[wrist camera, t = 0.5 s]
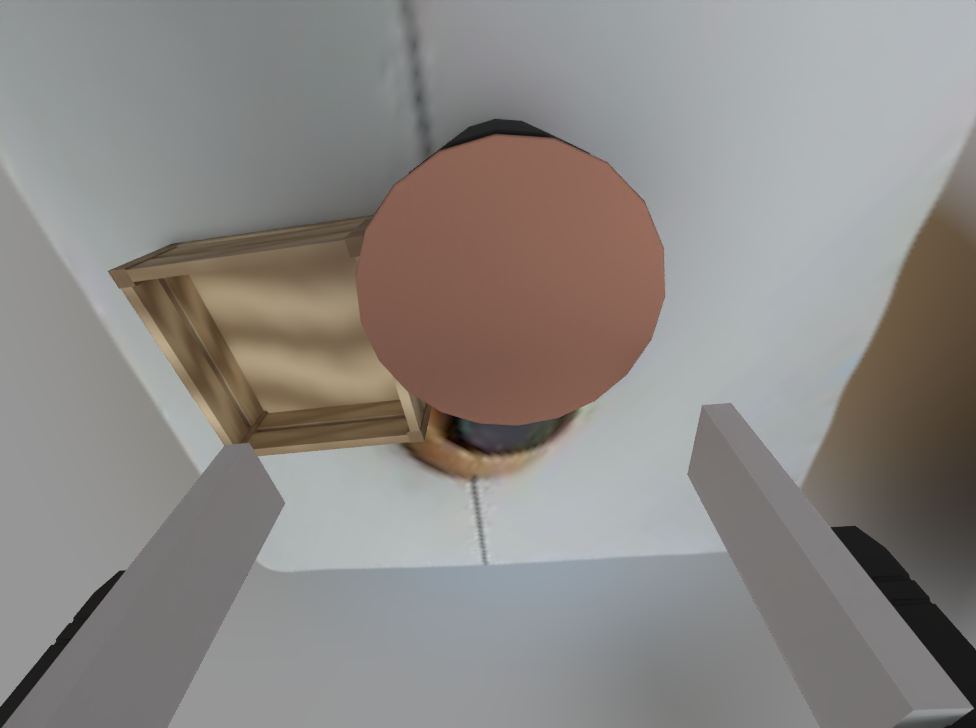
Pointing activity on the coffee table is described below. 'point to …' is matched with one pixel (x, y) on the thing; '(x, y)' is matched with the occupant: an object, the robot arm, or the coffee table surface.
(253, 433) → the pine crate
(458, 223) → the coffee jar
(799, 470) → the coffee table surface
